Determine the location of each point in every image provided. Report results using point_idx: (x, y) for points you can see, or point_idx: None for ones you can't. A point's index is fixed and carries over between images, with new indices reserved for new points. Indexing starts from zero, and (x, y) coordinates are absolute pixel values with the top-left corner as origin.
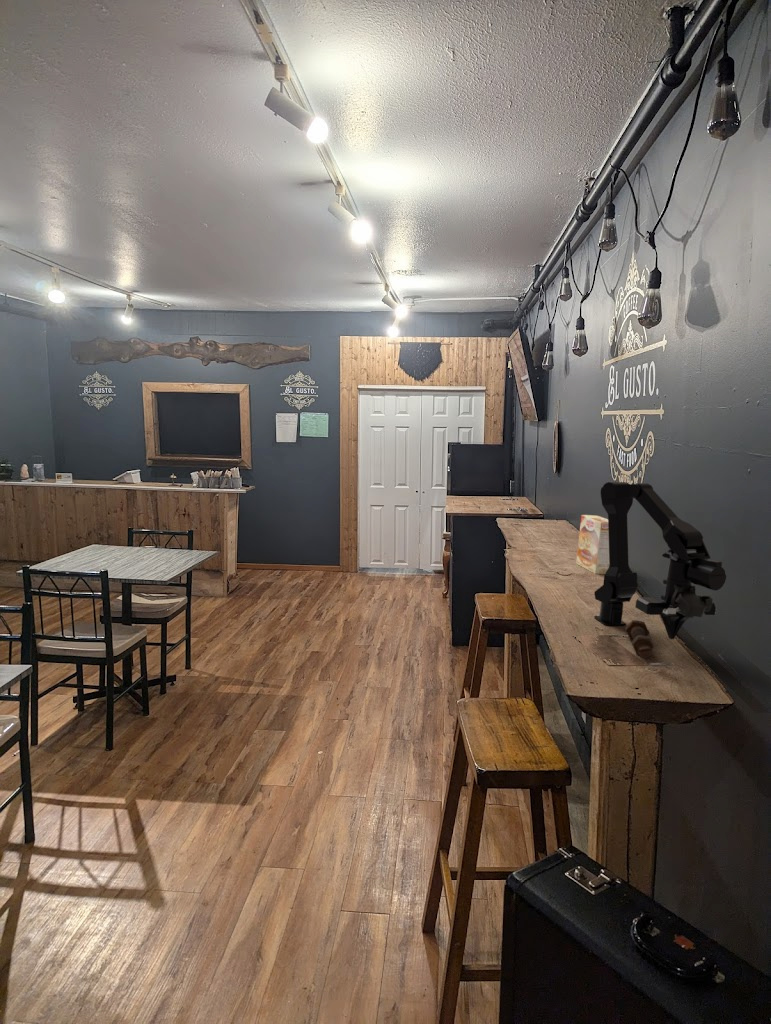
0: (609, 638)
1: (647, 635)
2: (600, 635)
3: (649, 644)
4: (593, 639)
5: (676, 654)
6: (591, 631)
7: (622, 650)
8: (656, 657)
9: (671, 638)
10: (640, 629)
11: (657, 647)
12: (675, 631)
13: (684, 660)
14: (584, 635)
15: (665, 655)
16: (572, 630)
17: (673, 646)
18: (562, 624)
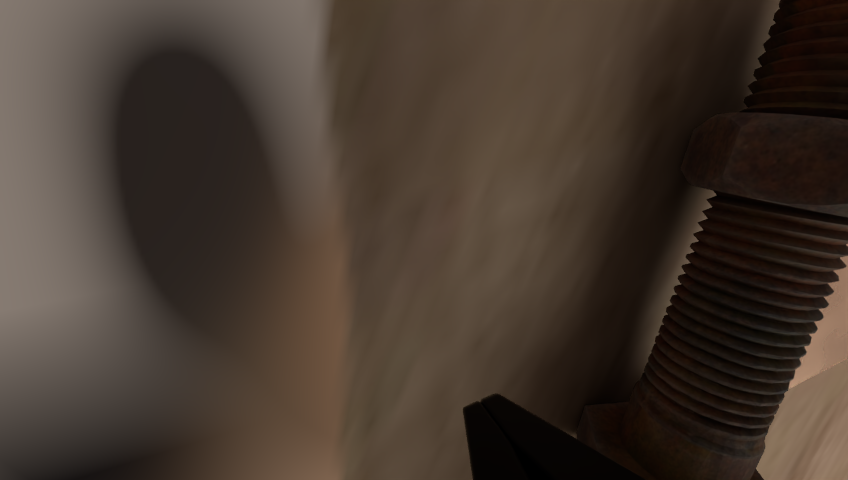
0: None
1: (601, 449)
2: None
3: (843, 92)
4: (839, 315)
5: (426, 229)
6: (770, 437)
7: None
8: (639, 98)
9: (496, 396)
10: (752, 433)
11: (524, 341)
12: (520, 476)
13: (406, 72)
14: (842, 358)
15: (540, 172)
16: (842, 407)
17: (378, 417)
18: (834, 461)
